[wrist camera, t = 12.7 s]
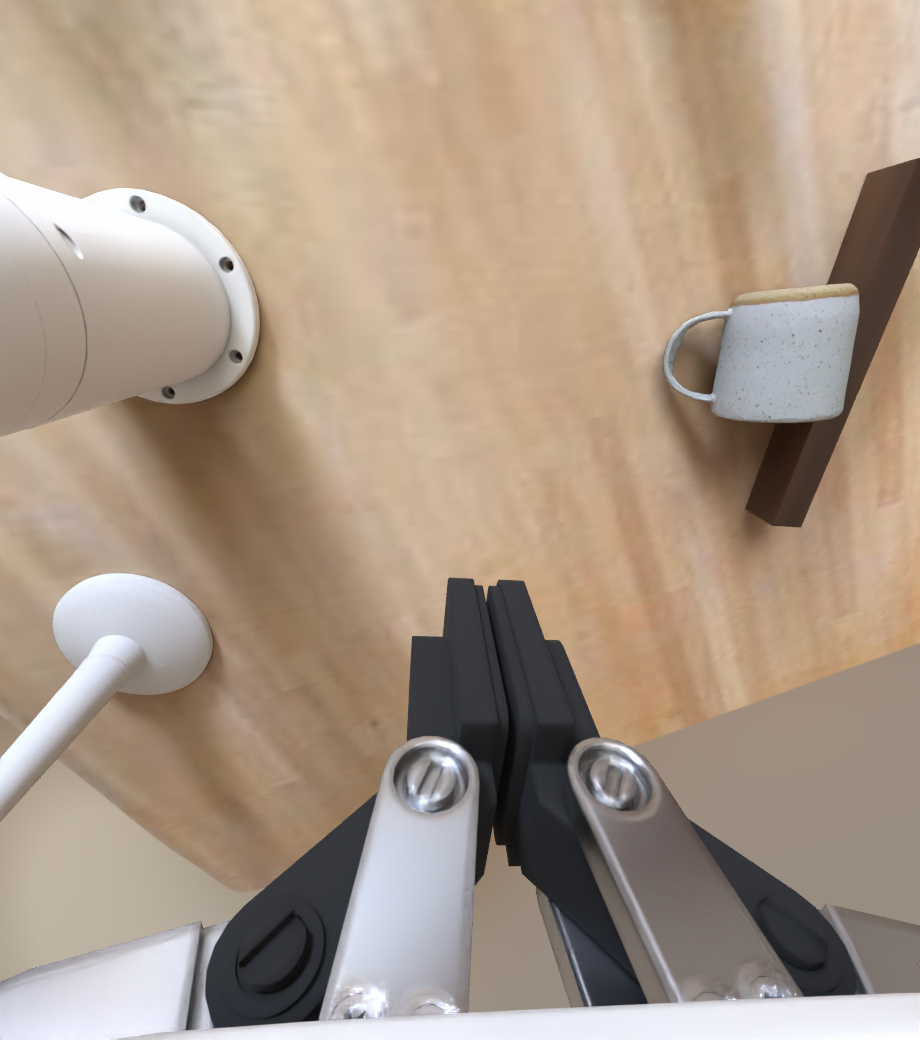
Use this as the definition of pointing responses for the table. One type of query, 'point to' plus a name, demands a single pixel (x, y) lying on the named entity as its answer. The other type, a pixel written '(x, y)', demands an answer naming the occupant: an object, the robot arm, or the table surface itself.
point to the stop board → (879, 279)
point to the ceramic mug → (780, 354)
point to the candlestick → (108, 664)
